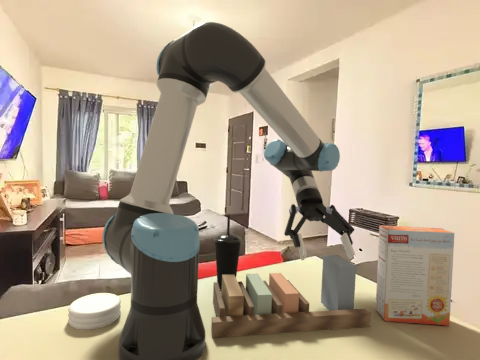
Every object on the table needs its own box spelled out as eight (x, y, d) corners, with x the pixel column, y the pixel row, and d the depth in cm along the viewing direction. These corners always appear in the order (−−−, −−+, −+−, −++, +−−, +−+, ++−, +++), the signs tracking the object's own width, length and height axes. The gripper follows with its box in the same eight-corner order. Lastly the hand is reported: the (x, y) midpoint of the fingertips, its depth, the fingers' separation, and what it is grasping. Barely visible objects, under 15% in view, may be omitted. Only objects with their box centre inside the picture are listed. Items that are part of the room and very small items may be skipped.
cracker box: (434, 313, 69) (440, 227, 68) (450, 327, 63) (457, 232, 62) (373, 308, 71) (378, 223, 70) (383, 321, 65) (389, 228, 64)
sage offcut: (256, 328, 60) (258, 295, 60) (245, 301, 72) (246, 273, 72) (270, 327, 61) (272, 294, 61) (256, 301, 73) (257, 273, 72)
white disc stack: (103, 333, 56) (104, 316, 56) (56, 328, 58) (56, 311, 57) (129, 309, 66) (129, 294, 66) (88, 305, 67) (88, 290, 67)
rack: (212, 337, 56) (213, 312, 56) (206, 302, 70) (207, 282, 70) (370, 326, 62) (371, 303, 62) (335, 296, 77) (336, 278, 76)
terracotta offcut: (284, 326, 61) (285, 293, 61) (268, 300, 73) (269, 273, 73) (297, 325, 62) (299, 293, 62) (279, 300, 74) (280, 272, 73)
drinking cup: (228, 279, 86) (231, 212, 85) (245, 288, 80) (248, 216, 79) (206, 285, 81) (209, 214, 80) (223, 295, 75) (226, 218, 74)
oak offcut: (228, 330, 59) (229, 296, 59) (221, 302, 71) (222, 274, 71) (242, 329, 60) (243, 295, 59) (233, 302, 71) (234, 274, 71)
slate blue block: (337, 318, 65) (339, 266, 65) (320, 302, 73) (323, 255, 73) (353, 317, 66) (356, 265, 66) (335, 301, 74) (337, 255, 73)
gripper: (338, 202, 95) (364, 262, 81) (265, 201, 91) (279, 265, 77) (348, 187, 90) (377, 249, 76) (271, 185, 85) (287, 251, 71)
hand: (328, 257), depth 76 cm, fingers open, 13 cm apart
